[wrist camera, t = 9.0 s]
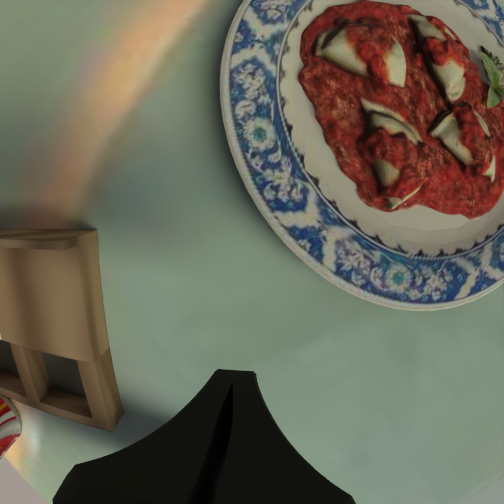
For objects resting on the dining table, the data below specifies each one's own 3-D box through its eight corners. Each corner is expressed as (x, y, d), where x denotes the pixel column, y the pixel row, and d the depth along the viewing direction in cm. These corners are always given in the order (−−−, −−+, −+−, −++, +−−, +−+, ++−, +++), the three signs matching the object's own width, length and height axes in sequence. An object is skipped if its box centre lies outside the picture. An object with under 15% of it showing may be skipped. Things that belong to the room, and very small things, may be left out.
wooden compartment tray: (97, 230, 19) (63, 241, 15) (123, 413, 22) (105, 444, 18) (-32, 228, 20) (-63, 237, 16) (0, 375, 23) (-22, 395, 19)
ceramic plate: (266, 332, 20) (266, 355, 18) (198, -31, 15) (189, -55, 12) (550, 261, 18) (572, 270, 16) (493, -17, 13) (510, -29, 10)
